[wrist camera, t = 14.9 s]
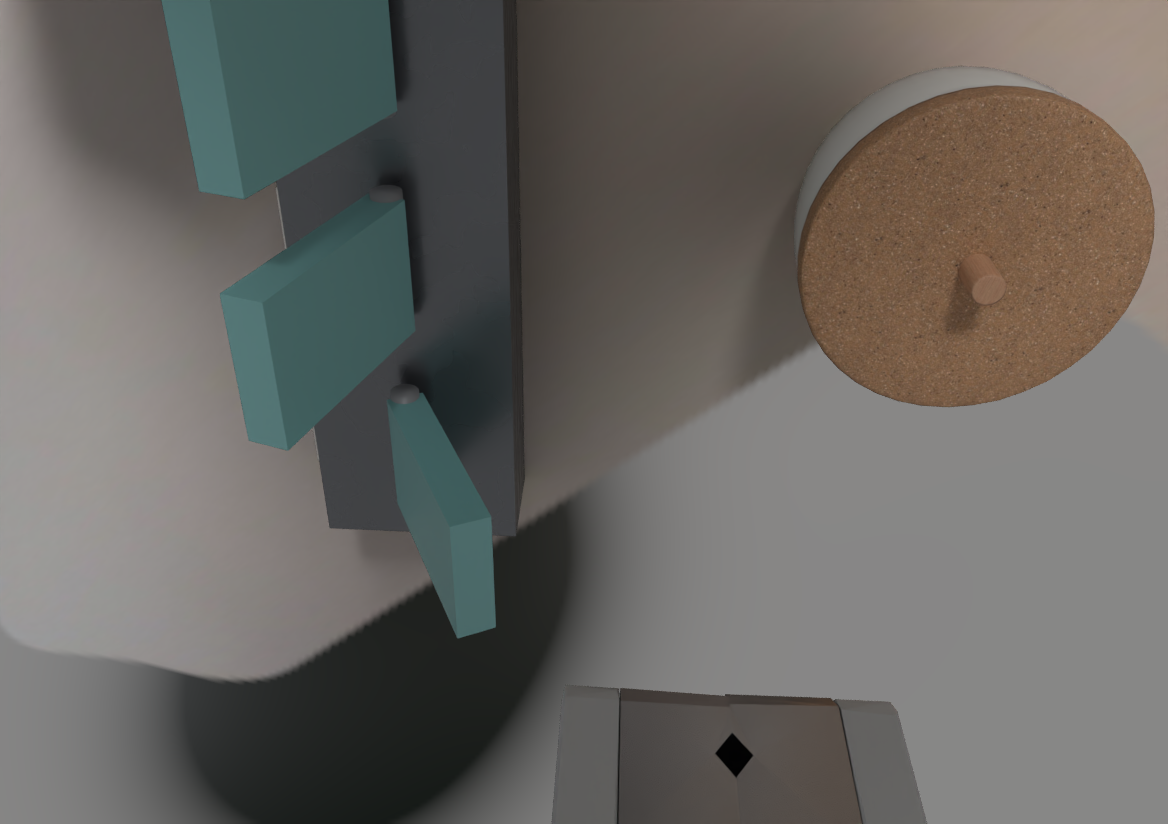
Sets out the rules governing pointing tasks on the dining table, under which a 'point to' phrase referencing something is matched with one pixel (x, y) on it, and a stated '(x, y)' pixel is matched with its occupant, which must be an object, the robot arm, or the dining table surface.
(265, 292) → the block
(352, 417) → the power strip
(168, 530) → the dining table surface
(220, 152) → the rocker
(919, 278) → the lidded jar
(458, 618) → the teal flat block
